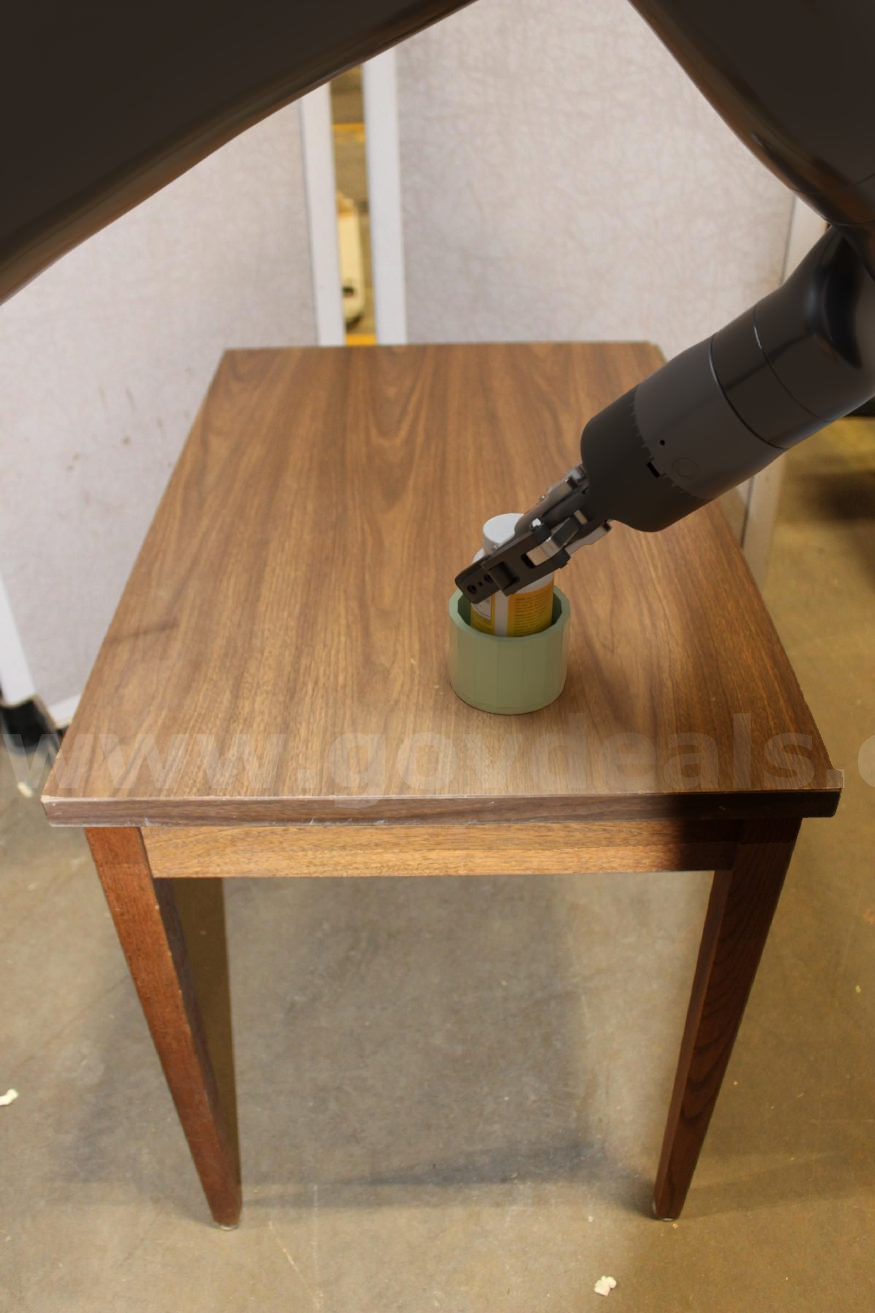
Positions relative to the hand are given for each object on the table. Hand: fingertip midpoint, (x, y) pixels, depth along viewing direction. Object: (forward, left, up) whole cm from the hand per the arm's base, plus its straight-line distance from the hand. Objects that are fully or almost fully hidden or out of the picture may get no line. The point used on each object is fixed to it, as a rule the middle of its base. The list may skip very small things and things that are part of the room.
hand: (487, 567), depth 69 cm
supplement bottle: (+1, -1, -6) cm, 7 cm away
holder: (+1, -1, -9) cm, 9 cm away
